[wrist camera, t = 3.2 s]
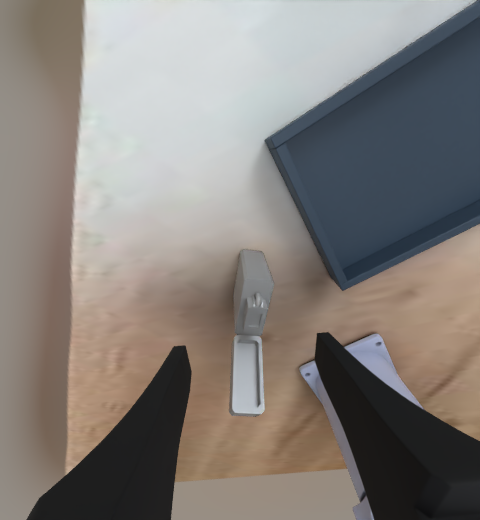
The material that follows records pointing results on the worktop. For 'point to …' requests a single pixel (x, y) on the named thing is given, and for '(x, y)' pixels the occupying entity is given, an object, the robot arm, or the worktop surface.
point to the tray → (391, 155)
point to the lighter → (249, 333)
